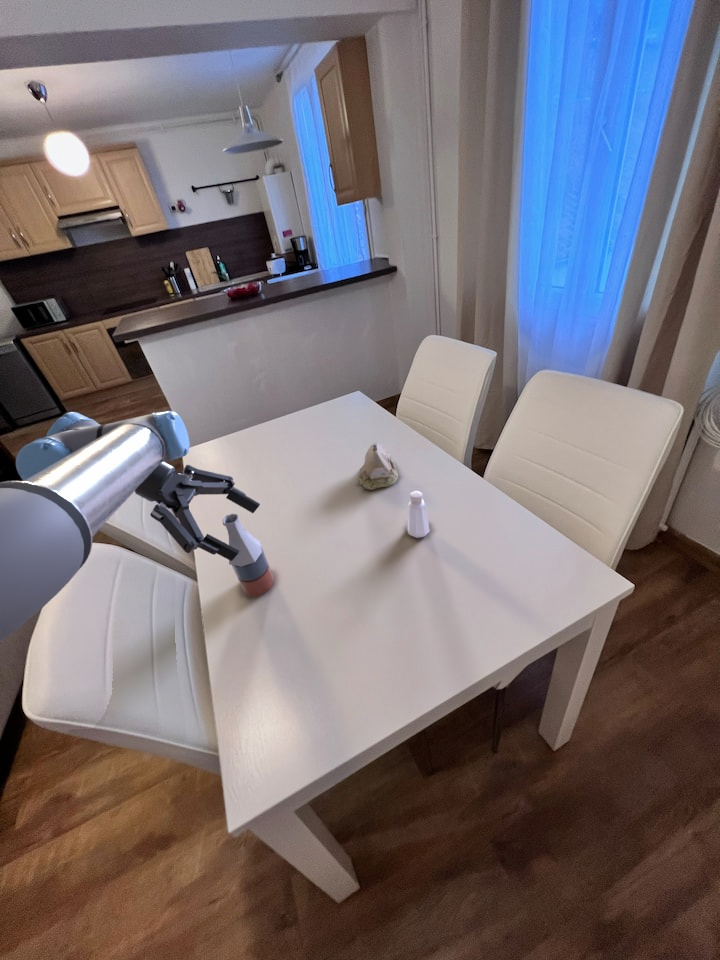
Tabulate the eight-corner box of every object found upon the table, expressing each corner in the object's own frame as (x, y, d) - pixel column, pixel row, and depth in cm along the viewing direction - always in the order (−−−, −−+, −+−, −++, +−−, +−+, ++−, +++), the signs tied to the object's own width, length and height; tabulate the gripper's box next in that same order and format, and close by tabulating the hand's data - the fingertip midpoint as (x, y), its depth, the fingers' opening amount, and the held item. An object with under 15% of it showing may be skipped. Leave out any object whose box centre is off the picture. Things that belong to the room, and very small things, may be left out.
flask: (258, 566, 81) (243, 529, 75) (224, 569, 82) (206, 533, 76) (265, 540, 87) (252, 505, 81) (233, 543, 88) (218, 508, 82)
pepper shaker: (434, 531, 95) (433, 495, 89) (415, 541, 94) (413, 505, 87) (420, 519, 99) (418, 484, 93) (402, 528, 98) (399, 493, 91)
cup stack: (262, 600, 86) (249, 570, 80) (236, 591, 89) (222, 562, 83) (280, 575, 91) (268, 546, 85) (255, 568, 94) (243, 539, 88)
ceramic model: (399, 487, 111) (396, 457, 105) (359, 491, 112) (354, 461, 106) (396, 459, 122) (393, 431, 117) (360, 463, 123) (355, 435, 118)
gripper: (111, 506, 62) (234, 569, 68) (182, 427, 82) (272, 482, 88) (98, 532, 65) (215, 590, 72) (169, 451, 86) (256, 502, 92)
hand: (247, 530), depth 80 cm, fingers open, 13 cm apart
